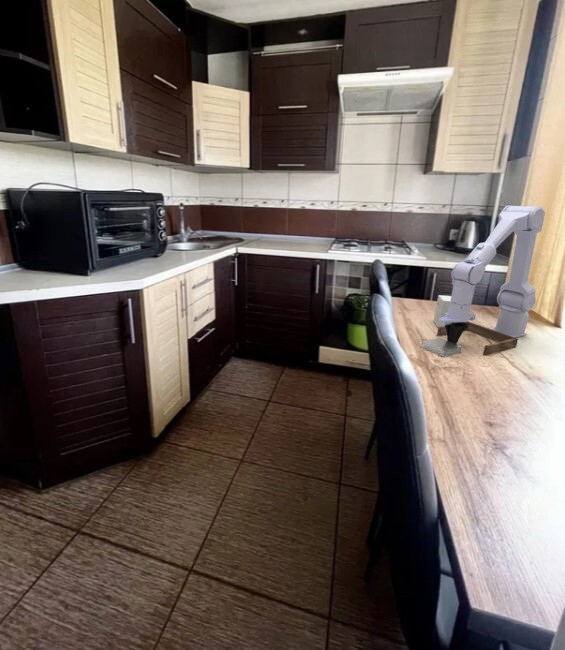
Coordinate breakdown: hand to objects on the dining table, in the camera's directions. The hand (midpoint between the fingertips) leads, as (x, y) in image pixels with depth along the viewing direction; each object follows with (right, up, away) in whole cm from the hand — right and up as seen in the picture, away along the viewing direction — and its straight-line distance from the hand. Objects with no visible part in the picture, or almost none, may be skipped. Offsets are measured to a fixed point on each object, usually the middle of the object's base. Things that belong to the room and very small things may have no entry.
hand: (451, 344), depth 108 cm
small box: (+6, +6, +19) cm, 21 cm away
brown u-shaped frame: (+10, +1, +5) cm, 11 cm away
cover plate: (-4, -2, -2) cm, 5 cm away
